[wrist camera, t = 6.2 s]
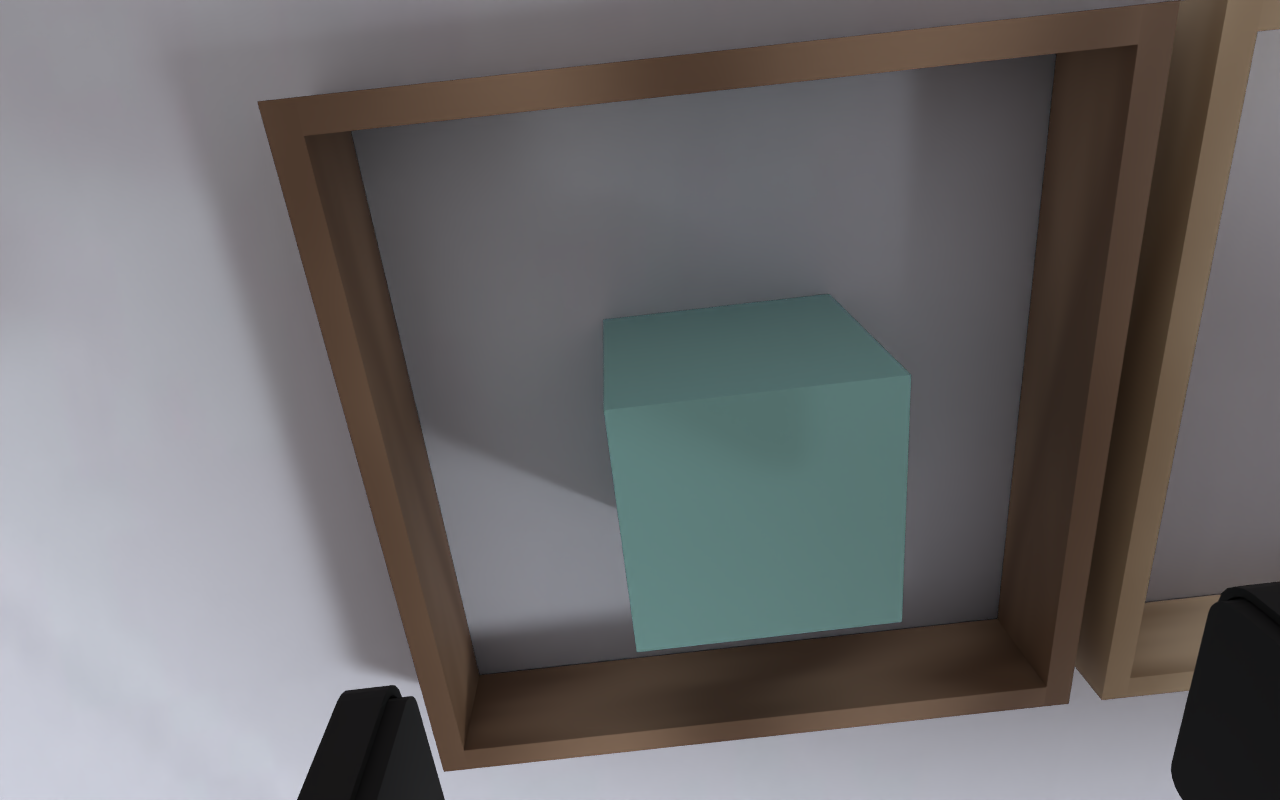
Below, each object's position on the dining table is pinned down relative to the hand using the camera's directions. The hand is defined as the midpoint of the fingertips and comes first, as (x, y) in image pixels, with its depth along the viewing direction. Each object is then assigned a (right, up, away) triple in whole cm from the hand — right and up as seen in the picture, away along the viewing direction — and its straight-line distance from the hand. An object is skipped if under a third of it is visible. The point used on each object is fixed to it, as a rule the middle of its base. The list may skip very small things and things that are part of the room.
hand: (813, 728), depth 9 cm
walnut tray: (0, +4, +9) cm, 10 cm away
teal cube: (0, +4, +9) cm, 10 cm away
